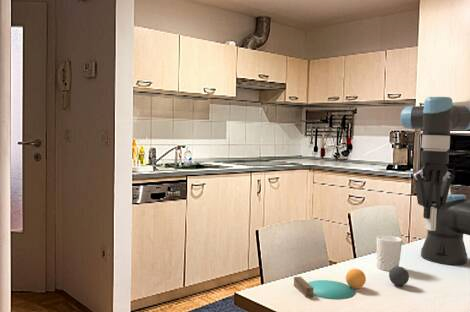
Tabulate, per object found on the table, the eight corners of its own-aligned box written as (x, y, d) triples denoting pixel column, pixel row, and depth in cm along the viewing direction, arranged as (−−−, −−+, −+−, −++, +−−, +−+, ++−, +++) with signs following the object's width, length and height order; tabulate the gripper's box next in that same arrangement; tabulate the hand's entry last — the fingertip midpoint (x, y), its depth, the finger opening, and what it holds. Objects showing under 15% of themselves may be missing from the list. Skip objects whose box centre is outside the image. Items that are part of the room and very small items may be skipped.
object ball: (359, 284, 133) (360, 265, 133) (368, 290, 128) (369, 271, 128) (341, 285, 132) (342, 266, 132) (351, 291, 127) (352, 272, 126)
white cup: (402, 273, 145) (403, 242, 144) (376, 270, 146) (378, 240, 146) (398, 265, 152) (400, 236, 152) (373, 263, 154) (375, 234, 153)
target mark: (340, 279, 136) (340, 279, 136) (364, 297, 123) (364, 296, 123) (297, 282, 133) (297, 281, 133) (316, 300, 120) (316, 299, 120)
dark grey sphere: (401, 281, 137) (402, 263, 136) (412, 288, 131) (413, 269, 131) (384, 282, 135) (385, 264, 135) (395, 289, 130) (396, 270, 130)
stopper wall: (300, 285, 131) (300, 276, 130) (312, 296, 122) (313, 287, 122) (293, 285, 130) (294, 277, 130) (306, 297, 121) (306, 288, 121)
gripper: (445, 149, 138) (440, 226, 140) (407, 148, 135) (402, 227, 136) (463, 151, 131) (458, 231, 132) (423, 150, 128) (418, 233, 129)
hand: (429, 229), depth 134 cm, fingers closed
